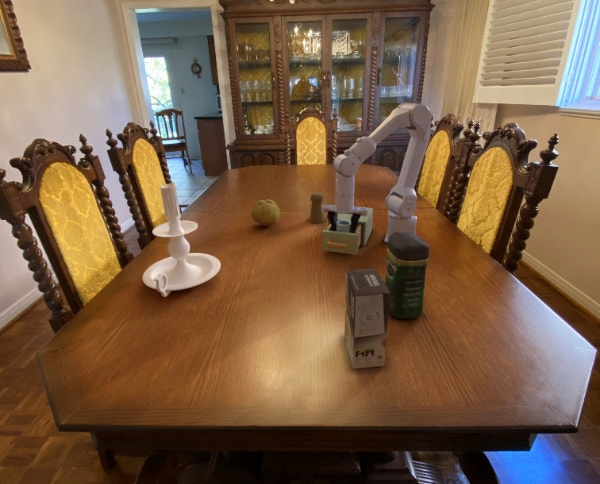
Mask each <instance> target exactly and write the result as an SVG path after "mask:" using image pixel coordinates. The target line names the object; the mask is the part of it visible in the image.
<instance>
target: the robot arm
mask: <svg viewBox="0 0 600 484" xmlns="http://www.w3.org/2000/svg"><path fill="white" fill-rule="evenodd" d="M432 118H433V112H432V111H431V109H430V107H429V106H428V105H427V104H426V103H411V102H402V103H400V104H399V105H398V106H397V107H396V108H394V109H392V111H391V113H390V114H389V116H388V117H386V118H385V120H383V122H381V123H380V124H379V125H378V126H377V127H376V128H375V130H373V132H372V133H370V135H369V136H362V137H358V138H357V139H356V140H355V141H356V142H355V143H354V144H353V145H352V146H351V147H349V148H348V149H345V150H344V151H343V152H344V153H342V154H338V155H337V156H336V157H335V158H334V162H333V163H332V168H333V170H334V171H335V191H334V192H335V195H334V198H335V204H323V206H322V207H321V212H324V213H327V214H326V219H327V221H328V220H329V222H330V224H331V226H332V230H333V231H336V222H337V217H338V213H339V214H352V217H351V233H355V229H356V226H357V223H358V221H359V219H360V217H361V215H362V216H365V217H367V215H368V209H365V208H360V207H361V206H355V183H356V182H355V180H356V179H355V175H356V174H357V173H358V171H359V169H360V166H361V165H362V164H363V163H364V162H365V161H366V160H367V159H368V158H369V157H371V156H372V155H373V154H374V153H375V152H376V149H377V145H378V144H379V143H380V142H382V141H383V140H384V139H387V137H388V136H389V135H391V134H392V133H393V132H394V131H396V130H397V129H400V128H401V129H402V128H405V129H406V131H407V133H408V134H409V136H410V139H409V141H408V146H407V149H406V152H405V156H404V158H403V159H404V160H403V163H402V166H401V170H400V173H399V177H398V179H397V183H396V184H395V185H394V186H393V187H391V188H390V192H389V194H388V195H387V197H386V198H385V201H384V205H385V208H387V210H388V211H387V213H388V215H387V227H386V228H387V229H386V235H385V237H384V240H383V242H384V243H387V244H388V239H389V237H390V236H391V235H392V234H393V233H394V232H405V231H410V232H411V233H413V234H415V235H417V221H418V216H415V215H414V214H415V213H416V211H417V200H418V196H417V193H416V191H415V186H416V184H417V181H418V177H419V174H420V170H421V167H422V164H423V162H424V161H423V160H424V157H425V154H426V152H427V148H428V145H429V141H430V138H431V134H432V129H431V128H432V127H431V121H432Z"/></svg>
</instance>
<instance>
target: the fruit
mask: <svg viewBox="0 0 600 484" xmlns="http://www.w3.org/2000/svg"><path fill="white" fill-rule="evenodd" d="M250 212H251V213H250V214H251V218H252V219H253V221H254V222H255V223H257V225H260V226H265V227H270V226H272V225H274V224H276V223H277V222H278V221H279V220H280V218H281V210H280V207H279V206H278V205H277V203H276V202H275V201H274V200H273V199H265V200H264V199H259V200H257V201H256V202H255V203H254V204H253V205H252V209H251V211H250Z"/></svg>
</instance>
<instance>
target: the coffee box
mask: <svg viewBox="0 0 600 484" xmlns="http://www.w3.org/2000/svg"><path fill="white" fill-rule="evenodd" d="M344 285H345V286H344V287H345V288H344V289H345V291H344V294H345V295H344V337H343V338H344V342H345V345H346V350H347V352H348V356H349V359H350V363H351V367H352V369H366V368H376V367H377V368H378V367H384V366H385V363H386V352H387V337H388V327H389V314H390V312H389V302H390V292H389V290H388V288H387V287H386V285H385V281H384V280H383V279H382V277H381V275H380V273H379V271H378V270H377V269H376V268H366V269H364V268H363V269H355V270H346V271H345V284H344Z"/></svg>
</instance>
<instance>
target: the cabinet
mask: <svg viewBox="0 0 600 484" xmlns="http://www.w3.org/2000/svg"><path fill="white" fill-rule="evenodd" d="M359 207H360V208H365V209H368V215H367V217H365V216H362V215H361V217H360V219H359V221H358V223H357V224H363V239H362V241H361V243H360V245H359V246H363V247H364V246H366V244H367V243H368V239H369V238H370V235H371V233H372V231H373V222H374V221H373V219H374V208H373V207H367V206H366V207H364V206H359ZM351 217H352V214H339V213H338V217H337V221H339V220H349V221H351ZM329 225H330V222H329V220H328V219H327V227H328V226H329Z"/></svg>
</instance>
